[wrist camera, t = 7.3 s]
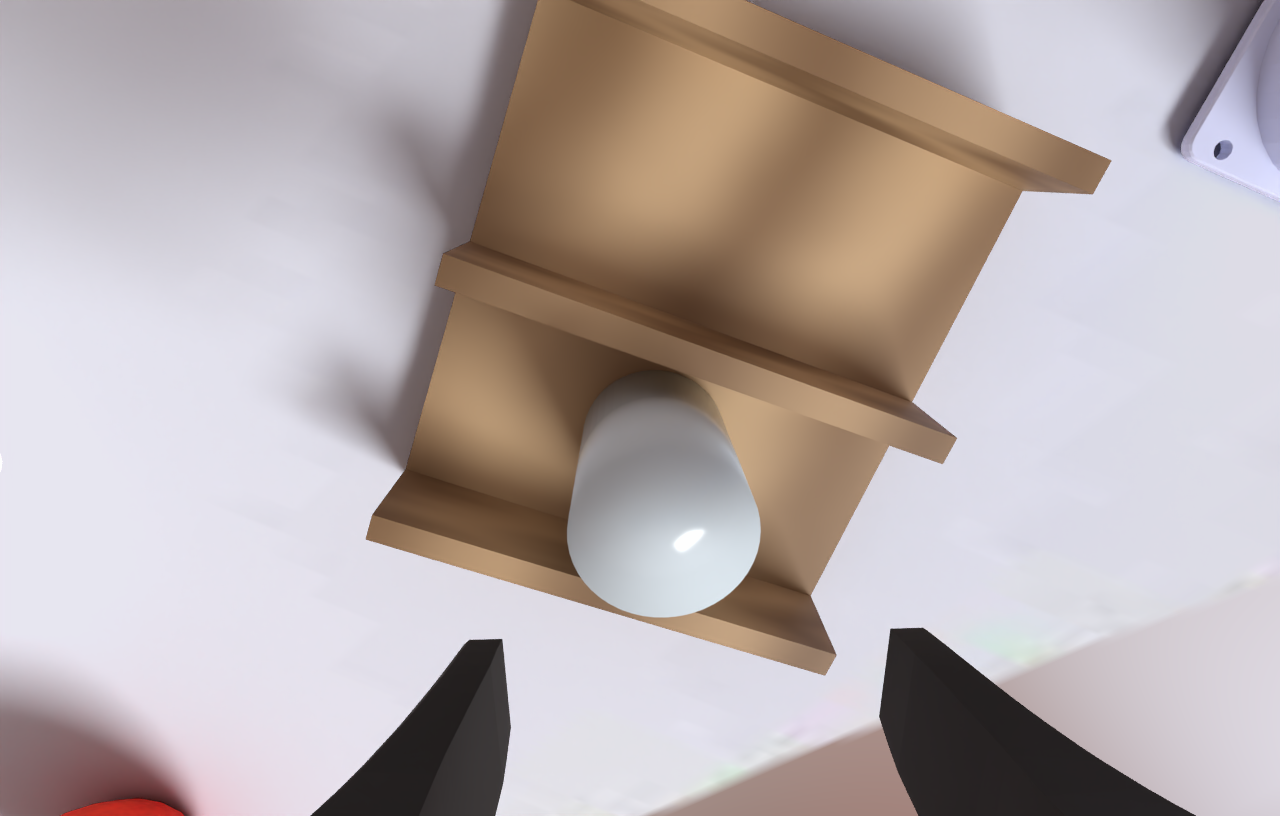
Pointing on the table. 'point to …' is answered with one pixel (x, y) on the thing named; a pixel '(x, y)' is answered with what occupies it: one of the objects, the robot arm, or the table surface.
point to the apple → (126, 809)
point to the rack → (708, 286)
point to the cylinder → (660, 499)
